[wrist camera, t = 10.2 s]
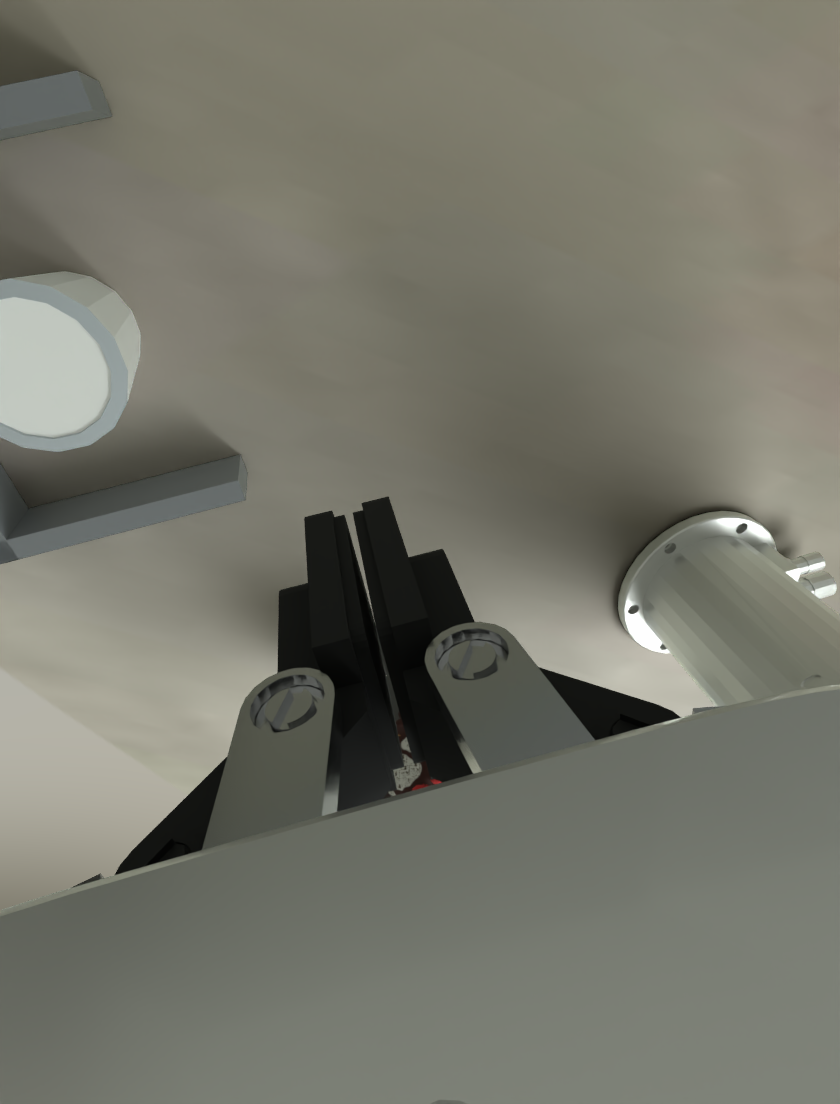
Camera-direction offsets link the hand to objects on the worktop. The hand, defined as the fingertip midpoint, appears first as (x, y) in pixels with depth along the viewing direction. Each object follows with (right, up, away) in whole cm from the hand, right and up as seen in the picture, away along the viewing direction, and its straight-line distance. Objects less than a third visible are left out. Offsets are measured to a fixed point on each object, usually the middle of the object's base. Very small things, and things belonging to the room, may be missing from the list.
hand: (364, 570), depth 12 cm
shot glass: (-16, +11, +18) cm, 26 cm away
